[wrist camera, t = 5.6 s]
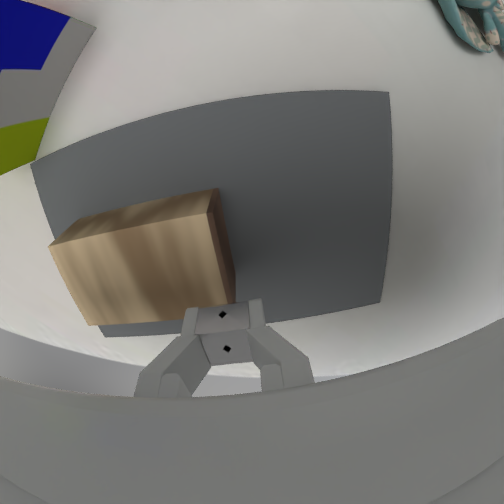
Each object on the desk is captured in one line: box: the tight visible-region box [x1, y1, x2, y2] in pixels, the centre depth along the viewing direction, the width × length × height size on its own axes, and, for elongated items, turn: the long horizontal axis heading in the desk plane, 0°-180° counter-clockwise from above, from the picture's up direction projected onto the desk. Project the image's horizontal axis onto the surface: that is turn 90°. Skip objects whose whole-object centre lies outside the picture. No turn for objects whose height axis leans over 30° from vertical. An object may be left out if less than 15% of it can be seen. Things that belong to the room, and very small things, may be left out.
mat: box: [30, 90, 392, 337], centre depth 17 cm, size 24×16×1 cm, turn 98°
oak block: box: [48, 188, 236, 326], centre depth 16 cm, size 4×6×10 cm
